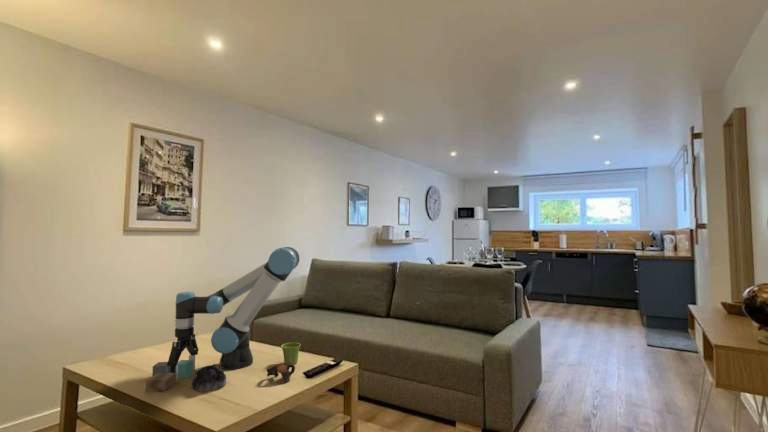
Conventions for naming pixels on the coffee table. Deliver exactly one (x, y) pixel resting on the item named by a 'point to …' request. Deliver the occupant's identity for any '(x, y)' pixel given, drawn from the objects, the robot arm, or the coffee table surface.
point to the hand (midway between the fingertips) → (183, 375)
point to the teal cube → (185, 368)
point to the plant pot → (290, 352)
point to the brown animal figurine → (283, 370)
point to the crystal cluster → (209, 378)
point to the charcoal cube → (161, 368)
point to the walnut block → (161, 382)
